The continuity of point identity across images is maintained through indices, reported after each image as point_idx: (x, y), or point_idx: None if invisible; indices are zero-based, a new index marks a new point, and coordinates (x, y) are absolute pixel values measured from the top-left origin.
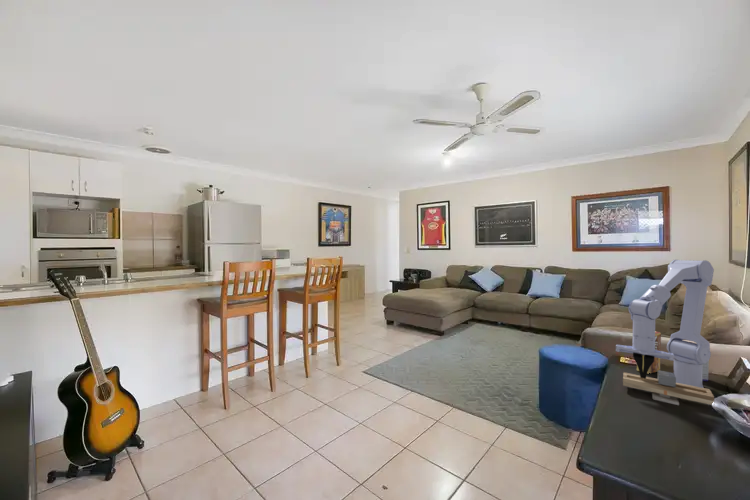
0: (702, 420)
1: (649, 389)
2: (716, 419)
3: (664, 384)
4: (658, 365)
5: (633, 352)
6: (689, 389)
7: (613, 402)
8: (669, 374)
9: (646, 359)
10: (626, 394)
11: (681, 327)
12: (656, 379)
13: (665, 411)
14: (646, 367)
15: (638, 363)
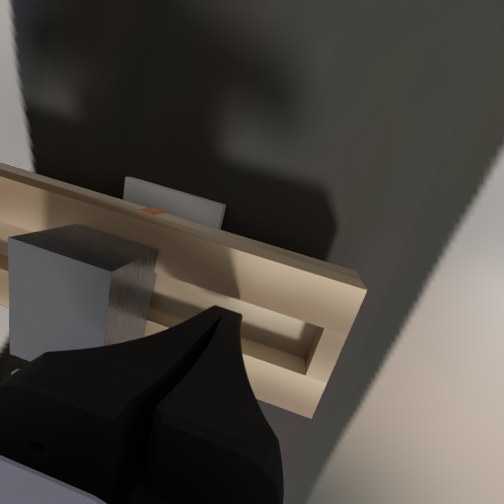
0: (80, 7)
1: (223, 233)
2: (28, 66)
3: (125, 240)
4: None
5: None
6: None
7: (501, 14)
8: (38, 308)
9: (103, 389)
10: (345, 218)
11: None
12: None
13: (215, 38)
14: (170, 341)
15: (232, 383)
